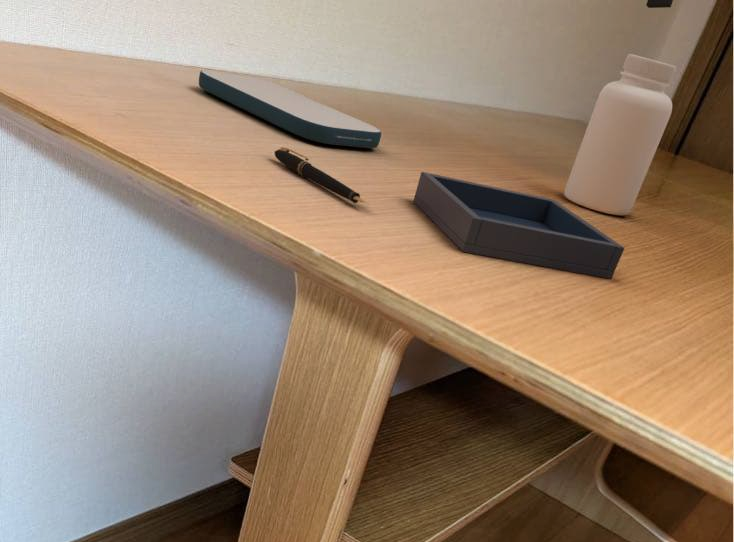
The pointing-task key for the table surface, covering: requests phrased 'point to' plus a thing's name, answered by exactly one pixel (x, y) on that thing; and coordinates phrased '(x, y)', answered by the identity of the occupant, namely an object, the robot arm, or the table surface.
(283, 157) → the fountain pen
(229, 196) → the table surface
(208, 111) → the table surface
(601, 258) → the tray
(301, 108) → the external hard drive
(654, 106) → the pill bottle
